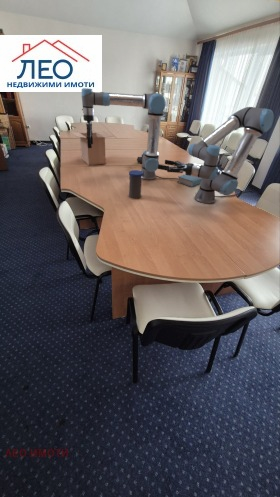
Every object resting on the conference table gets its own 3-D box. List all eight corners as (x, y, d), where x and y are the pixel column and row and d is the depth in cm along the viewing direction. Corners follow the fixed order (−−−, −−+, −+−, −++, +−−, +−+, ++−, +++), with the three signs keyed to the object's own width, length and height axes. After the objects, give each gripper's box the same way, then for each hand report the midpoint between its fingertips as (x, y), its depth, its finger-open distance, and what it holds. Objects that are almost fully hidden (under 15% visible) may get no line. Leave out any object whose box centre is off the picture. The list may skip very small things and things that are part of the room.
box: (116, 165, 229) (116, 136, 213) (83, 168, 214) (80, 137, 198) (102, 154, 259) (101, 128, 243) (71, 156, 244) (68, 129, 228)
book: (191, 177, 214) (192, 171, 211) (206, 182, 205) (207, 176, 202) (177, 181, 200) (178, 176, 197) (192, 187, 191) (193, 181, 188)
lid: (129, 176, 155) (129, 174, 154) (129, 172, 163) (129, 169, 162) (143, 177, 156) (143, 174, 155) (142, 172, 164) (142, 170, 163)
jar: (129, 198, 165) (129, 174, 155) (129, 193, 172) (129, 170, 162) (140, 198, 166) (142, 175, 155) (140, 194, 173) (141, 171, 163)
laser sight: (156, 166, 236) (157, 156, 230) (135, 163, 239) (136, 153, 233) (157, 163, 244) (158, 154, 238) (137, 161, 247) (138, 151, 241)
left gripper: (84, 112, 170) (87, 142, 182) (81, 116, 150) (84, 149, 163) (94, 112, 171) (96, 142, 183) (92, 116, 151) (94, 149, 163)
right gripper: (186, 181, 134) (154, 174, 140) (195, 170, 153) (166, 165, 159) (189, 168, 130) (155, 162, 136) (198, 159, 148) (168, 154, 155)
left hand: (90, 146), depth 173 cm, fingers open, 13 cm apart
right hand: (161, 164), depth 148 cm, fingers open, 13 cm apart
